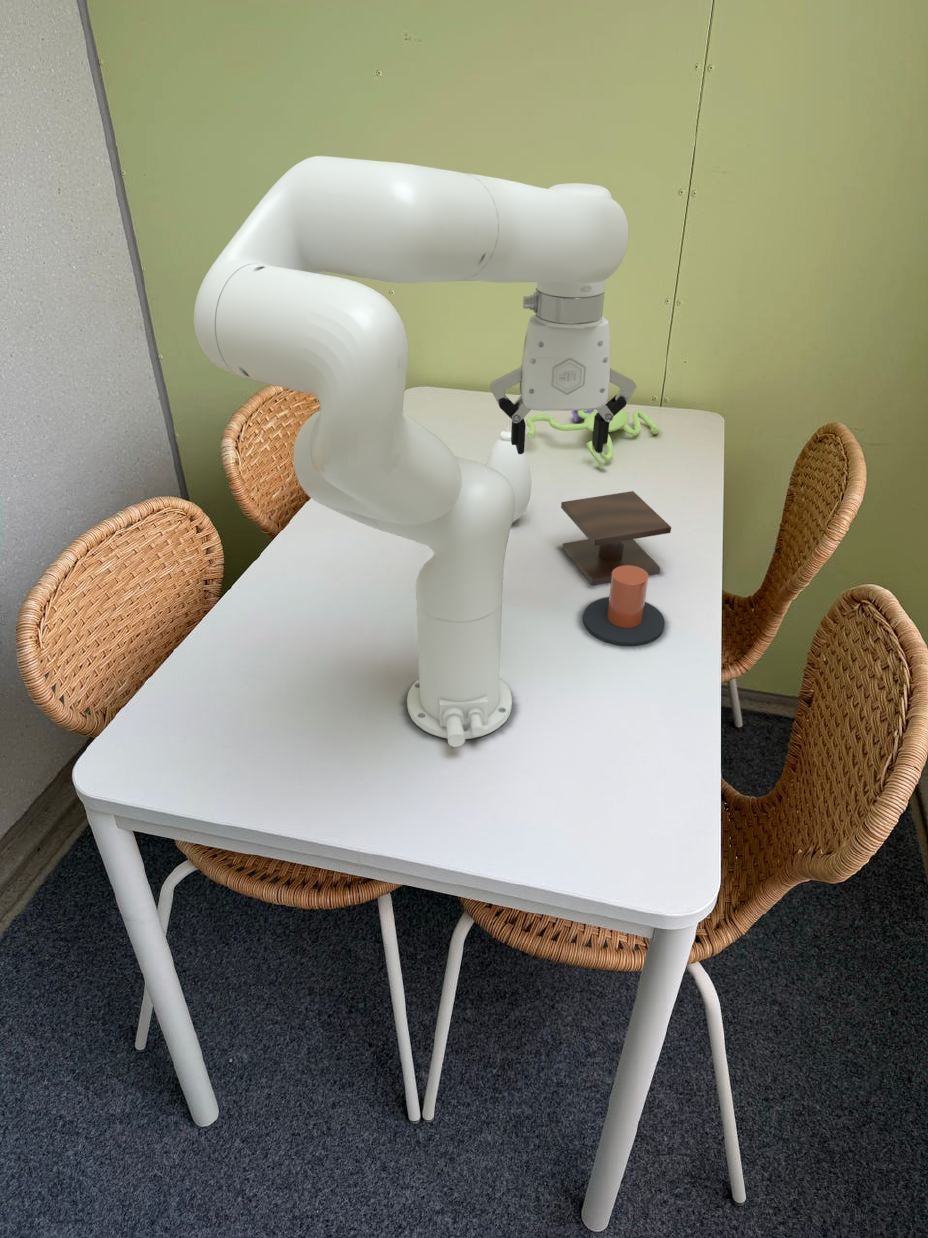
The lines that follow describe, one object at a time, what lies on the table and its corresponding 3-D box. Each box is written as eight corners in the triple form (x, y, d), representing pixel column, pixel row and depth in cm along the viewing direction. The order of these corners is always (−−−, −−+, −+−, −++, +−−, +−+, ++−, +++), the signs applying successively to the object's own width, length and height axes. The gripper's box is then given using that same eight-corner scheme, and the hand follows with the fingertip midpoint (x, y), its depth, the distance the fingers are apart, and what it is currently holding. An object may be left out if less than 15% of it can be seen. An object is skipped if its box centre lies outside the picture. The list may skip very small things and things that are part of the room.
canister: (646, 627, 117) (653, 583, 113) (611, 629, 116) (616, 585, 112) (637, 607, 121) (643, 564, 117) (603, 609, 120) (608, 566, 116)
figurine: (511, 448, 166) (512, 421, 162) (589, 408, 182) (591, 382, 179) (592, 476, 156) (595, 447, 153) (667, 431, 172) (671, 404, 169)
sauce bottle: (528, 509, 145) (533, 406, 135) (530, 532, 139) (535, 426, 129) (482, 509, 146) (483, 406, 135) (481, 532, 139) (483, 426, 129)
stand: (664, 574, 129) (671, 527, 124) (590, 587, 126) (595, 539, 121) (627, 536, 138) (633, 490, 134) (557, 547, 135) (561, 501, 131)
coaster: (674, 643, 115) (675, 639, 114) (592, 648, 114) (593, 644, 114) (651, 597, 124) (651, 594, 123) (575, 601, 123) (575, 598, 123)
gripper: (495, 316, 94) (491, 462, 104) (653, 315, 95) (634, 460, 105) (489, 298, 100) (486, 438, 110) (637, 297, 101) (621, 436, 111)
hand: (558, 449), depth 107 cm, fingers open, 9 cm apart
